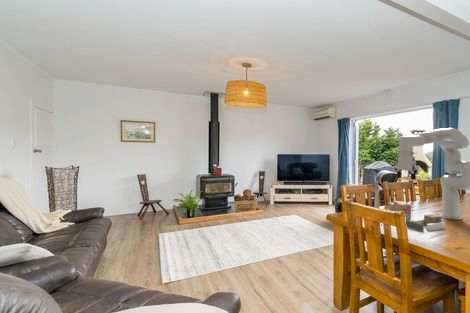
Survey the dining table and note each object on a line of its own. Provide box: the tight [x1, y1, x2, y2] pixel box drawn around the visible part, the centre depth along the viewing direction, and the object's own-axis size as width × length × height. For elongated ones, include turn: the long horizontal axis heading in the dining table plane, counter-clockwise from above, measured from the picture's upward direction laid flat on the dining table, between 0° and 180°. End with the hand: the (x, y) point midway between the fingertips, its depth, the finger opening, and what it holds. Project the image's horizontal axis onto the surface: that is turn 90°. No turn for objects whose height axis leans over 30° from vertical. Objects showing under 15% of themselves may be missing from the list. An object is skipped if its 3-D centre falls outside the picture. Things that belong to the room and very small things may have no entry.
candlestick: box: [373, 180, 380, 210], centre depth 164 cm, size 13×13×30 cm
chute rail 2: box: [426, 221, 446, 231], centre depth 150 cm, size 14×2×4 cm, turn 107°
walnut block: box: [423, 213, 443, 226], centre depth 155 cm, size 7×6×7 cm
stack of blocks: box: [387, 200, 412, 221], centre depth 176 cm, size 21×6×12 cm, turn 169°
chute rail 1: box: [411, 218, 425, 226], centre depth 159 cm, size 14×2×4 cm, turn 107°
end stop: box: [405, 220, 425, 232], centre depth 151 cm, size 2×10×4 cm, turn 17°
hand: (406, 178), depth 161 cm, fingers open, 9 cm apart
